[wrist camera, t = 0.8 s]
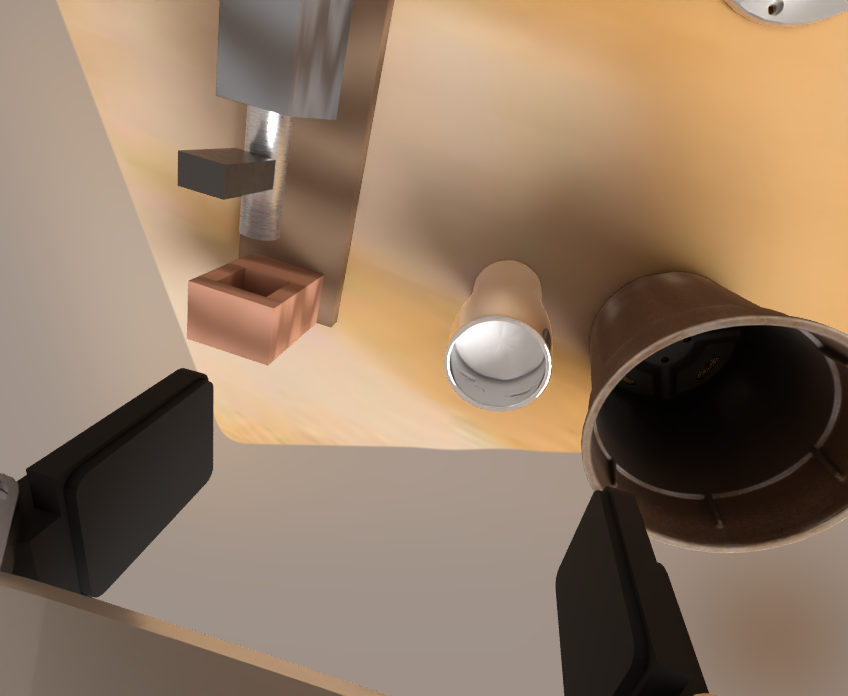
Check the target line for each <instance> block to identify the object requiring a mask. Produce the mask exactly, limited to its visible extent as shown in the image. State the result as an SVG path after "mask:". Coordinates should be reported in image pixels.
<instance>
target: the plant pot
mask: <svg viewBox="0 0 848 696" xmlns="http://www.w3.org/2000/svg"><path fill="white" fill-rule="evenodd" d="M687 337H691V340H690V341H689V342H684V340H683V339H685V338H687ZM589 350H590V360H591V380H592V391H591V394H590V400H589V406H588V413H587V416H586V419H585V423H584V426H583V432H582V440H581V449H582V460H583V465H584V469H585V473H586V476H587V479H588V481H589V483H590V485H591V487H592V489H593V491H594V492H595V491H596V490H600V491H603V489H604V488H605V487H606V486H609V487H613V488H617V489H620V490H624V491H627V492H631V493H633V494H634V496H635V498H636V501H637V504H638V507H639V510H640V513H641V516H642V519H643V522H644V525H645V528H646V531H647V534H648V537H650V538H652V539H654V540H657V541H660V542H662V543H665V544H669V545H673V546H677V547H681V548H685V549H690V550H697V551H704V552H715V553H740V552H741V553H742V552H751V551H759V550H765V549H771V548H776V547H780V546H783V545H787V544H791V543H794V542H797V541H801V540H804V539H806V538H809V537H811V536H813V535H816V534H818V533H820V532H822V531H825V530H827V529H829V528H831V527H833V526H834V525H836V524H838V523H839V522H841V521H843V520H844V519H846V518H847V517H848V335H847V334H845V333H843V332H841V331H838V330H836V329H834V328H831V327H829V326H826V325H824V324H821V323H818V322H814V321H811V320H807V319H803V318H798V317H792V316H788V315H786V314H784V313H780V312H777V311H774V310H771V309H766V308H762V307H760V306H758V305H756V304H754V303H752V302H750V301H748V300H746V299H744V298H742V297H741V296H739V295H737V294H735V293H733V292H731V291H729V290H728V289H726V288H724V287H723V286H721V285H719V284H717V283H716V282H714V281H712V280H710V279H708V278H706V277H703V276H700V275H696V274H692V273H687V272H678V271H674V272H669V273H662V274H655V275H650V276H644V277H641V278H639V279H637V280H634V281H632V282H630V283H629V284H627V285H625V286H624V287H622V288H621V289H620V290H618V291H617V292H616V293H615V294H614V295H612V296H611V297H610V298H609V299H608V300H607V301H606V303H605V304H604V305H603V306H602V308H601V309H600V311H599V312H598V314H597V316H596V318H595V320H594V322H593V325H592V328H591V332H590V339H589ZM663 357H668V359H669V361H668V362H666V363H662V361H661V359H662V358H663ZM717 357H719V358H720V360H719V362H718V363H717V364H716V365H715V366H714V367H713V368H712V369H711V370H710V371H709V372H708V373H707V374H705V375H704V376H702V377H701V378H699V379H696V376H697V374H698V373H699V372H701V371H703V369H704V368H705V367H706V366H708V365H709V363H710V361H711V360H712V359H714V358H717ZM624 376H626V377H628V378H629V379H630V380H633V381H634V382H636V385H630V384H627V383H625V382H624V381H622V380H621V379H622V378H623V377H624Z"/></svg>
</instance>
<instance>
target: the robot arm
mask: <svg viewBox="0 0 848 696" xmlns="http://www.w3.org/2000/svg"><path fill="white" fill-rule="evenodd" d="M724 1H725V2H726V3H727V4H728V5H729V6H730V7H731V8H732V9H733V10H734V11H735V12H736V13H738V14H740V15H741V16H743V17H745V18H746V19H748V20H749V21H752V22H756V23H759V24H762V25H765V26H771V27H784V28H789V27H797V26H805V25H810V24H813V23H816V22H819V21H823V20H826V19H829V18H832V17H834V16H836V15H839V14H841V13H843V12H846V11H848V0H724ZM769 6H772V7H773V9H774V10H773V13H772V14H771V15H770V14H769V13H768V7H769ZM212 470H213V384H212V383H211V382H209V381H208V377H207V375H205V374H203V373H199V372H196V371H192V370H188V369H185V368H181V369H179V370H177V371H175V372H174V373H172V374H171V375H169V376H167V377H166V378H164V379H163V380H161V381H160V382H158V383H157V384H155V385H154V386H152V387H151V388H149V389H148V390H146V391H145V392H143V393H142V394H140V395H139V396H137V397H135V398H134V399H132V400H131V401H130V402H128V403H126V404H125V405H123V406H122V407H120V408H119V409H117V410H116V411H114V412H113V413H111V414H109V415H108V416H106V417H105V418H103V419H102V420H100V421H99V422H97V423H96V424H94V425H93V426H91V427H90V428H88V429H87V430H85V431H84V432H82V433H80V434H79V435H77V436H76V437H74V438H73V439H71V440H70V441H68V442H67V443H65V444H64V445H62V446H61V447H59V448H58V449H56V450H55V451H53V452H51V453H50V454H49V455H47V456H46V457H44V458H42V459H41V460H39V461H38V462H36V463H35V464H33V465H32V466H30V467H28V468H27V469H26V472H27V475H26V476H24V477H23V478H21V479H20V480H18V481H17V482H16V481H15V479H14V478H12V477H10V476H7V475H5V474H1V473H0V696H389V695H387V694H384V693H381V692H378V691H375V690H372V689H368V688H366V687H363V686H360V685H357V684H354V683H350V682H348V681H345V680H342V679H339V678H336V677H333V676H330V675H327V674H324V673H320V672H318V671H315V670H312V669H309V668H306V667H302V666H300V665H296V664H294V663H290V662H288V661H284V660H281V659H278V658H275V657H272V656H269V655H266V654H263V653H260V652H257V651H254V650H251V649H248V648H245V647H242V646H239V645H236V644H233V643H230V642H226V641H224V640H221V639H218V638H215V637H212V636H209V635H206V634H202V633H199V632H196V631H193V630H190V629H187V628H184V627H181V626H177V625H175V624H171V623H168V622H165V621H162V620H159V619H156V618H153V617H150V616H147V615H144V614H141V613H138V612H134V611H131V610H128V609H125V608H122V607H119V606H116V605H112V604H110V603H107V602H104V601H101V600H97V599H94V598H92V597H99V596H101V595H102V594H103V593H104V592H105V591H106V590H107V589H108V588H109V587H110V586H111V585H112V584H113V583H114V582H115V581H116V580H117V579H118V578H119V576H120V575H121V574H122V573H123V572H124V571H125V570H126V569H127V568H128V567H129V566H130V564H132V562H133V561H134V560H135V559H136V558H137V557H138V556H139V555H140V554H141V553H142V552H143V551H144V550H145V548H146V547H147V546H148V545H149V544H150V543H151V542H152V541H153V540H154V539H155V538H156V537H157V535H159V533H160V532H161V531H162V530H163V529H164V528H165V527H166V526H167V525H168V524H169V523H170V522H171V520H172V519H173V518H174V517H175V516H176V515H177V514H178V513H179V512H180V511H181V510H182V509H183V507H185V505H186V504H187V503H188V502H189V501H190V500H191V499H192V498H193V497H194V496H195V495H196V493H198V491H199V490H200V489H201V488H202V487H203V486H204V485H205V484H206V483H207V481H208V480H209V478H210V476H211V474H212ZM556 599H557V611H558V623H559V636H560V648H561V660H562V672H563V684H564V694H565V695H564V696H716V695H712V694H709V692H708V689H707V686H706V683H705V680H704V677H703V675H702V672H701V669H700V666H699V663H698V660H697V657H696V654H695V652H694V649H693V646H692V643H691V640H690V637H689V634H688V631H687V628H686V626H685V623H684V620H683V617H682V614H681V611H680V608H679V605H678V603H677V600H676V597H675V594H674V591H673V588H672V585H671V582H670V579H669V576H668V574H667V572H666V570H665V568H664V566H663V565H662V564H660V563H658V562H657V561H656V558H655V555H654V552H653V549H652V547H651V543H650V540H649V537H648V534H647V531H646V528H645V525H644V522H643V519H642V516H641V513H640V510H639V507H638V504H637V501H636V498H635V496H634V494H633V493H631V492H627V491H624V490H620V489H617V488H613V487H609V486H606V487H605V488H604V489H603V491H600V490H596V491H595V492H594V493H593V495H592V497H591V500H590V502H589V504H588V506H587V508H586V511H585V513H584V515H583V517H582V519H581V522H580V524H579V526H578V528H577V530H576V532H575V534H574V537H573V539H572V541H571V543H570V545H569V548H568V550H567V552H566V554H565V557H564V559H563V561H562V563H561V565H560V567H559V570H558V573H557V577H556Z"/></svg>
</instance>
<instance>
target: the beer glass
mask: <svg viewBox="0 0 848 696" xmlns="http://www.w3.org/2000/svg"><path fill="white" fill-rule="evenodd" d="M541 298H542V287H541V283H540V280H539V278H538V277H537V275H536V274H535V272H534V271H533V270H532V269H531V268H529V267H528V266H527V265H525V264H523V263H521V262H518V261H513V260H503V261H498V262H495V263H492V264H490V265H489V266H487V267H486V268H485V269H483V270H482V271H481V273H480V274H479V275H478V277H477V279H476V281H475V283H474V287H473V294H472V295H471V296H470V297H469V298H468V299H467V300H466V302H465V303H464V304H463V305H462V306H461V308H460V310H459V311H458V313H457V315H456V317H455V319H454V322H453V324H452V327H451V331H450V334H449V339H448V344H447V348H446V352H445V357H444V367H445V372H446V376H447V378H448V381H449V383H450V385H451V386H452V388H453V389H454V390H455V392H456V393H457V394H458V395H459V396H460V397H461V398H462V399H464V400H465V401H466V402H468V403H470V404H471V405H473V406H476V407H478V408H481V409H484V410H488V411H496V412H504V411H511V410H516V409H519V408H521V407H524V406H526V405H528V404H529V403H531V402H532V401H534V400H535V399H536V398H537V397H538V396H539V395H540V394H541V393H542V392H543V391H544V389H545V388H546V386H547V384H548V382H549V379H550V376H551V370H552V351H553V339H552V330H551V325H550V321H549V317H548V315H547V313H546V311H545V309H544V307H543V305H542V303H541Z"/></svg>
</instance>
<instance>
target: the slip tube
mask: <svg viewBox="0 0 848 696" xmlns="http://www.w3.org/2000/svg"><path fill="white" fill-rule="evenodd" d="M292 118H293V117H291V116H285V115H281V114H278V113H274V112H271V111H268V110H264V109H261V108H257V107H254V106H250V105H247V117H246V132H245V147H244V150H241V149H237V148H227V149H203V150H179V151H178V186H181V187H184V188H187V189H191V190H194V191H197V192H200V193H204V194H207V195H210V196H213V197H217V198H220V199H223V200H224V199H229V198H234V197H239V196H241V206H240V220H239V233H240V234H242V235H243V236H246V237H248V238H252V239H256V240H262V241H274V240H278V239H279V238H280V228H281V219H282V210H283V201H284V191H285V182H286V173H287V164H288V154H289V145H290V136H291V127H292Z"/></svg>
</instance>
